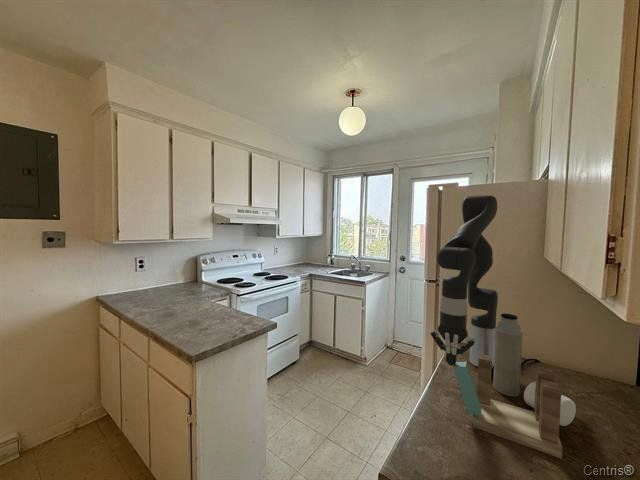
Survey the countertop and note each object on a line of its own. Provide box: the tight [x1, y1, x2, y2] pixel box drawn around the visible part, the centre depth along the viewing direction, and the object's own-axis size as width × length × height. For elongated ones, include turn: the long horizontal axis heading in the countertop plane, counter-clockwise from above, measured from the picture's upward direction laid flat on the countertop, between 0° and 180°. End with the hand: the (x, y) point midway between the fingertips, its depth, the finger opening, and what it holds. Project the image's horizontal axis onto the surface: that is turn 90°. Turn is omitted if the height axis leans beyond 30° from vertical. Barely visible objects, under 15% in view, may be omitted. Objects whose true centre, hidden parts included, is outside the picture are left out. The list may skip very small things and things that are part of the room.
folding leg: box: [452, 361, 481, 415], centre depth 82 cm, size 4×4×14 cm
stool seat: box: [472, 354, 563, 459], centre depth 79 cm, size 13×20×18 cm, turn 58°
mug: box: [523, 381, 577, 427], centre depth 85 cm, size 12×10×8 cm
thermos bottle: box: [492, 313, 523, 397], centre depth 97 cm, size 8×8×28 cm
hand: (450, 364), depth 84 cm, fingers closed
